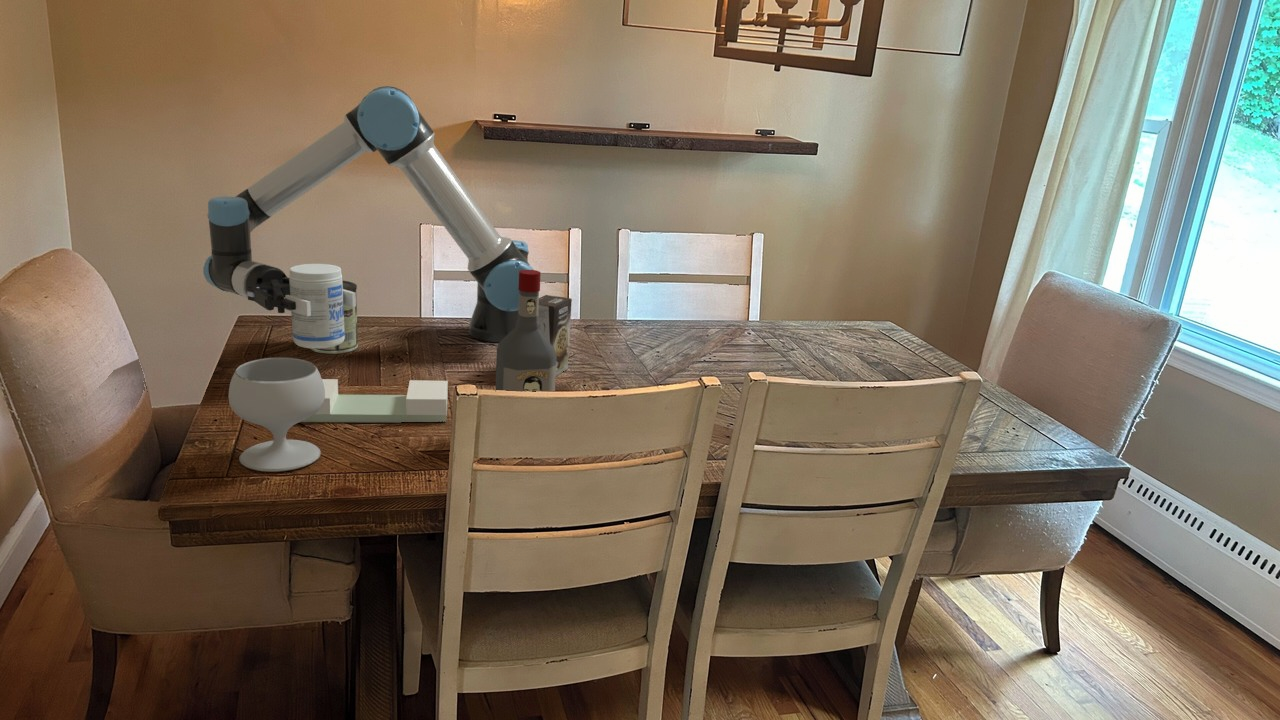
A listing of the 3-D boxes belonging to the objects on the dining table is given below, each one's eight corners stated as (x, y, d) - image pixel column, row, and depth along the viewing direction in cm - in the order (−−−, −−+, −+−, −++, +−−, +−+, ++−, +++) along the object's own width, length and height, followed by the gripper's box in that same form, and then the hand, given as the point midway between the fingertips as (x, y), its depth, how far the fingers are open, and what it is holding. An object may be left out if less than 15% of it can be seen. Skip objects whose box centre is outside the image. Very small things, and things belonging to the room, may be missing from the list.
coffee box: (551, 381, 188) (554, 306, 183) (523, 375, 190) (526, 301, 185) (569, 369, 196) (573, 297, 191) (542, 364, 198) (545, 293, 193)
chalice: (227, 479, 135) (220, 385, 130) (238, 442, 147) (232, 355, 143) (325, 473, 139) (322, 383, 134) (328, 438, 152) (325, 354, 147)
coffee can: (321, 338, 203) (319, 277, 199) (365, 343, 203) (364, 282, 198) (300, 351, 194) (297, 288, 189) (346, 356, 193) (345, 292, 189)
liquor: (491, 430, 160) (496, 266, 151) (541, 426, 164) (548, 265, 155) (503, 450, 152) (509, 278, 143) (555, 446, 156) (564, 278, 147)
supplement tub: (342, 350, 170) (339, 274, 165) (289, 350, 168) (285, 273, 163) (346, 335, 179) (344, 263, 174) (296, 335, 177) (292, 262, 172)
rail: (447, 402, 171) (447, 380, 170) (446, 422, 162) (446, 399, 161) (298, 401, 166) (298, 378, 165) (288, 422, 157) (287, 397, 156)
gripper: (309, 292, 190) (379, 313, 178) (210, 310, 173) (281, 334, 161) (307, 257, 188) (378, 276, 176) (207, 272, 170) (278, 294, 159)
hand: (332, 304), depth 168 cm, fingers closed on supplement tub, 9 cm apart
